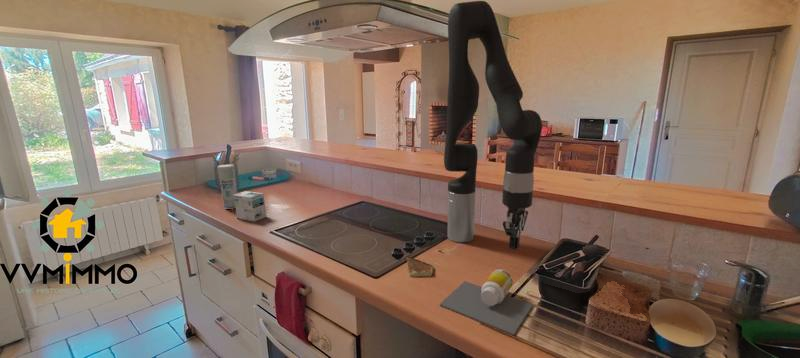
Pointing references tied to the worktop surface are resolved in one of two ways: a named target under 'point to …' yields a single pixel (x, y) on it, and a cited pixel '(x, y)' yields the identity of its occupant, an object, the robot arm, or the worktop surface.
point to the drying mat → (487, 308)
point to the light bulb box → (250, 206)
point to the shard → (419, 268)
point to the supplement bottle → (496, 287)
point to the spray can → (227, 185)
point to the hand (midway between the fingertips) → (514, 247)
